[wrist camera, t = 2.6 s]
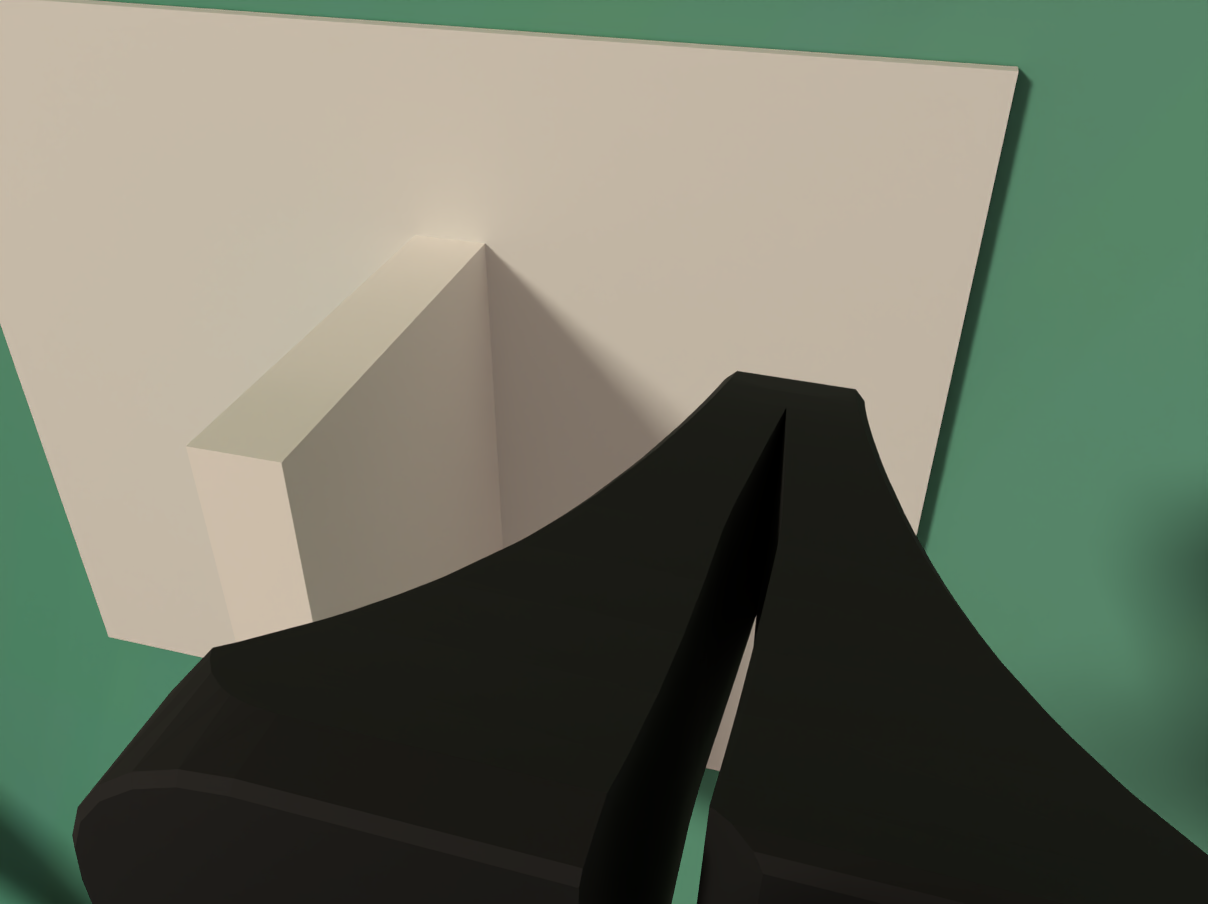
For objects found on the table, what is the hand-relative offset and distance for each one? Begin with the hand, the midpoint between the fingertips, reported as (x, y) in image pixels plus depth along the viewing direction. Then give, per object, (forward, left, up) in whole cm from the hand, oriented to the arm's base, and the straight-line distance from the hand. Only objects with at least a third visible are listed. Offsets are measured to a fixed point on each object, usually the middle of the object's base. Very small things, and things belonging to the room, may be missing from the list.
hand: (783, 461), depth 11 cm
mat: (+9, +7, -9) cm, 15 cm away
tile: (+8, +7, -9) cm, 14 cm away
